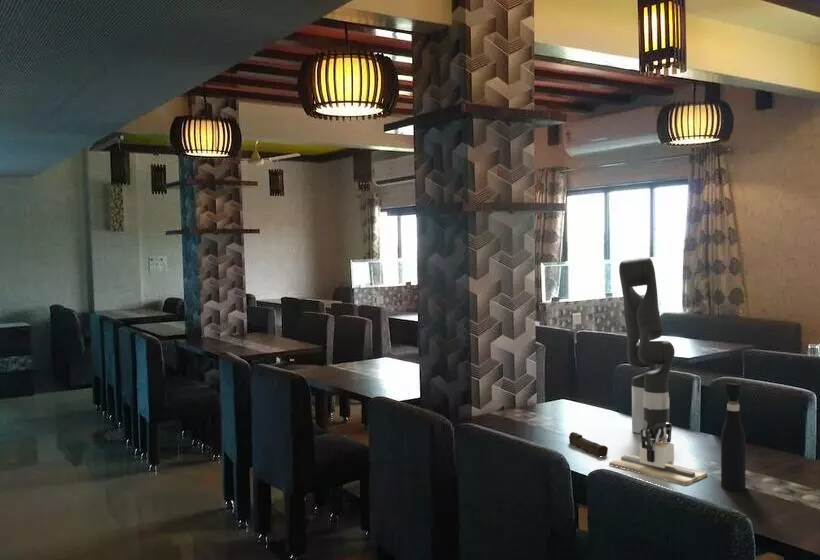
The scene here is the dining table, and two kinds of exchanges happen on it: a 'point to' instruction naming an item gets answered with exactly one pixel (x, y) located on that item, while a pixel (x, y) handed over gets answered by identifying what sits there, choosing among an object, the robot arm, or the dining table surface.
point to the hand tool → (587, 444)
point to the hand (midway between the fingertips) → (656, 459)
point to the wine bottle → (733, 443)
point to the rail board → (660, 470)
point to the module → (659, 454)
